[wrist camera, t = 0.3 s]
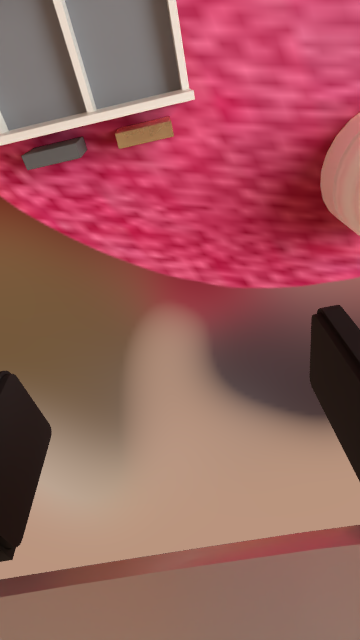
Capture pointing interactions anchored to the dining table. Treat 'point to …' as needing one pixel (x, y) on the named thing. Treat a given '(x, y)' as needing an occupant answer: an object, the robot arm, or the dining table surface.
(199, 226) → the dining table surface
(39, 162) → the grey flat block
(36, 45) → the two-cubby white shelf
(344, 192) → the honey pot
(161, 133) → the tan wooden slab
